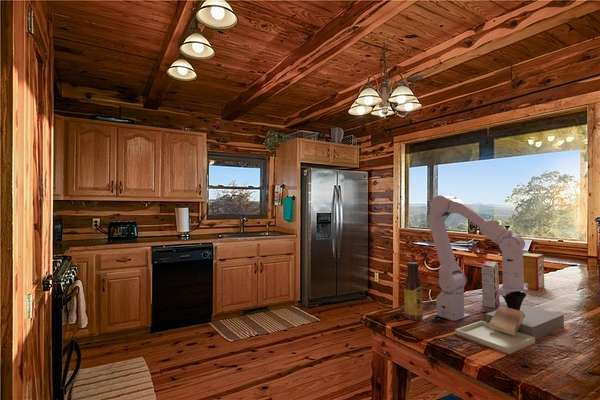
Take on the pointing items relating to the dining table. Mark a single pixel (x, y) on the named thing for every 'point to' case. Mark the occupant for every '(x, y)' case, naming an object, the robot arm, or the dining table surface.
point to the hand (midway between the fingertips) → (513, 314)
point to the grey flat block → (536, 321)
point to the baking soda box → (534, 271)
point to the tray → (495, 337)
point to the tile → (507, 320)
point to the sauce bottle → (413, 293)
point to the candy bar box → (490, 284)
